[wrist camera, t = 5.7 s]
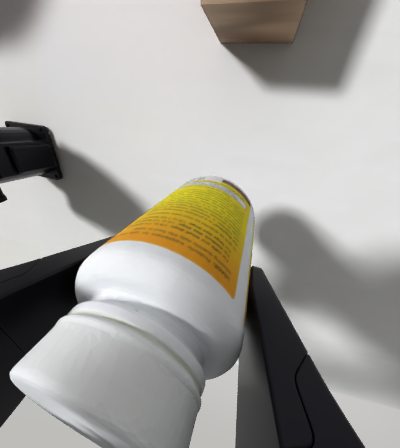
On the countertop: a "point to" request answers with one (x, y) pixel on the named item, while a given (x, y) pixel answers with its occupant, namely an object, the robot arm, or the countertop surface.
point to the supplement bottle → (150, 322)
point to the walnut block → (254, 20)
